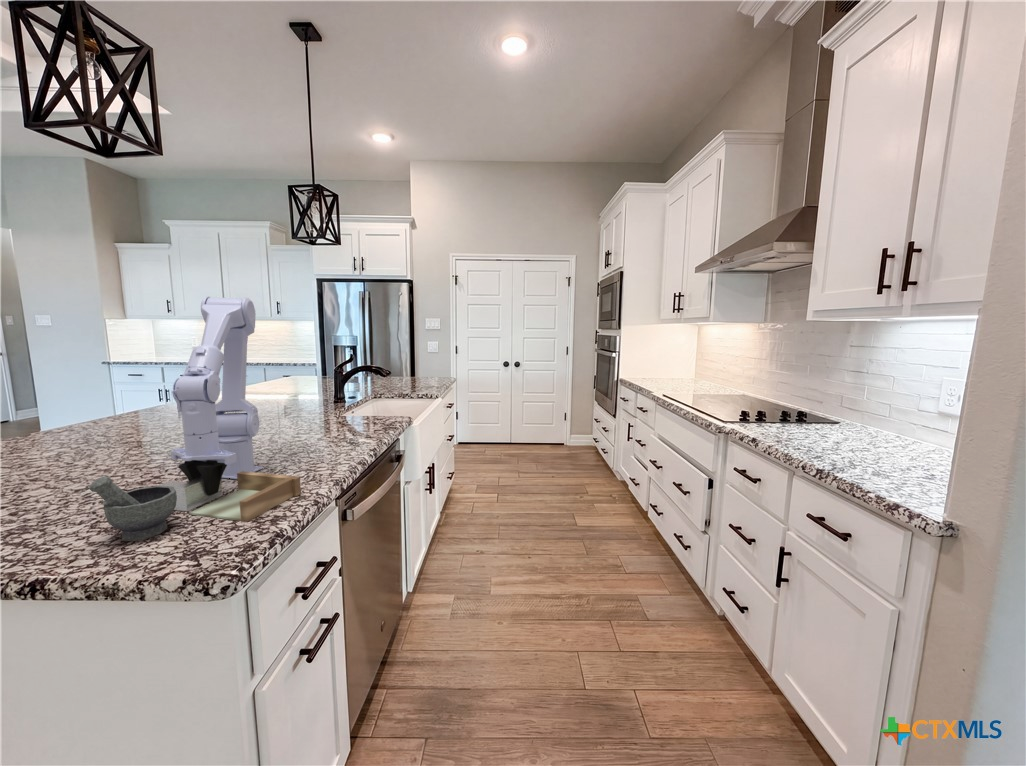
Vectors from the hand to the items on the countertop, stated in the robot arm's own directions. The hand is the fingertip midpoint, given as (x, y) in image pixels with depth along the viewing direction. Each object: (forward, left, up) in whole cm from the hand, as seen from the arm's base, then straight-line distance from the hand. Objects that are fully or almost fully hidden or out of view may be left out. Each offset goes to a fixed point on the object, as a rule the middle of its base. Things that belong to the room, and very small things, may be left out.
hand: (206, 493), depth 86 cm
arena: (+10, 0, -1) cm, 10 cm away
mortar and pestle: (+2, -14, -2) cm, 15 cm away
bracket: (-2, -2, -1) cm, 3 cm away
